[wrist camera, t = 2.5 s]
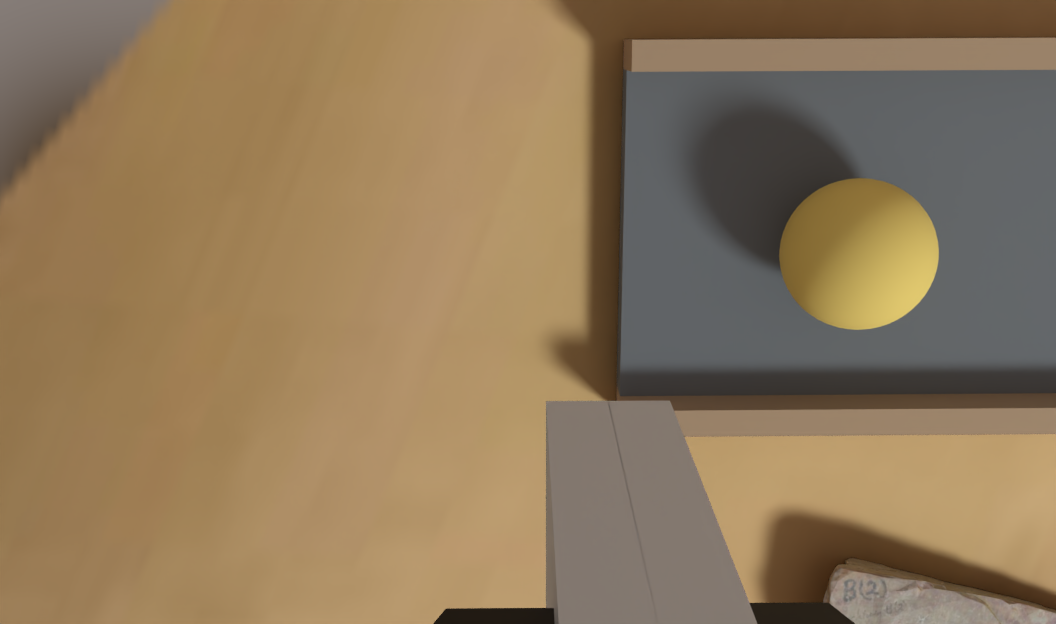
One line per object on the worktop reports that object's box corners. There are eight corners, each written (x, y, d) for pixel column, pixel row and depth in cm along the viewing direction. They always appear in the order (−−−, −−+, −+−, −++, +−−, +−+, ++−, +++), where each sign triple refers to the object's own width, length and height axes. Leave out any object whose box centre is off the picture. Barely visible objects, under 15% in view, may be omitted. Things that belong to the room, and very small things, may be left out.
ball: (759, 307, 29) (796, 349, 25) (768, 169, 28) (808, 191, 24) (897, 306, 29) (955, 349, 25) (911, 168, 28) (974, 189, 24)
